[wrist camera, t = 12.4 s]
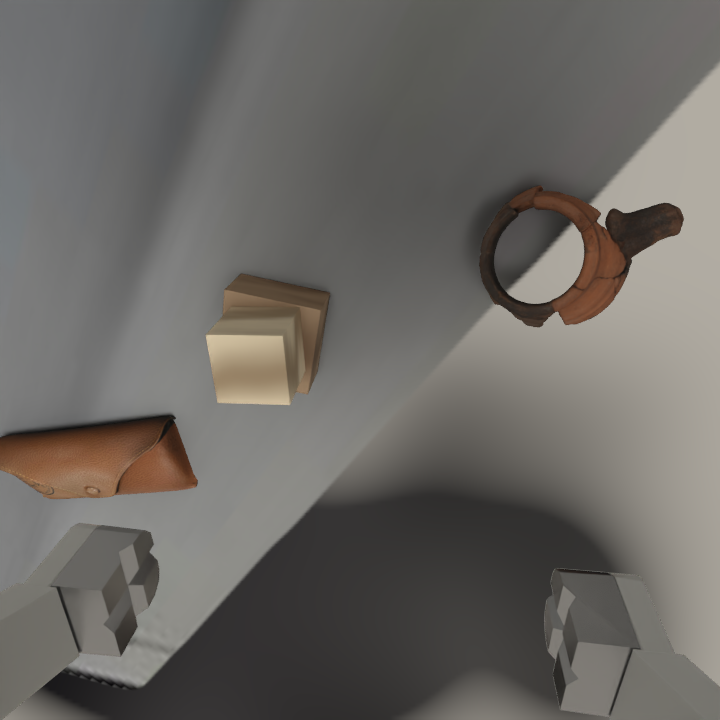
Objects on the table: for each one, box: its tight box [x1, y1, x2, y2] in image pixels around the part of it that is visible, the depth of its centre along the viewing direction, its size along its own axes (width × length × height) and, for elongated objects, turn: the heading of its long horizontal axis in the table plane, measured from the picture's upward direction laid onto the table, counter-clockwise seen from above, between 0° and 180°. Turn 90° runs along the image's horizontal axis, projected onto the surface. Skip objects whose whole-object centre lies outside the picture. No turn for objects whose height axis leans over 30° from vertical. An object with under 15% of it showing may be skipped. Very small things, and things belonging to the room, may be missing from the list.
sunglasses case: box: [0, 416, 198, 499], centre depth 51 cm, size 18×7×7 cm, turn 102°
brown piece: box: [479, 186, 684, 327], centre depth 36 cm, size 12×10×8 cm
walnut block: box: [223, 274, 330, 394], centre depth 42 cm, size 7×7×4 cm
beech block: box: [206, 307, 305, 405], centre depth 38 cm, size 5×5×5 cm
